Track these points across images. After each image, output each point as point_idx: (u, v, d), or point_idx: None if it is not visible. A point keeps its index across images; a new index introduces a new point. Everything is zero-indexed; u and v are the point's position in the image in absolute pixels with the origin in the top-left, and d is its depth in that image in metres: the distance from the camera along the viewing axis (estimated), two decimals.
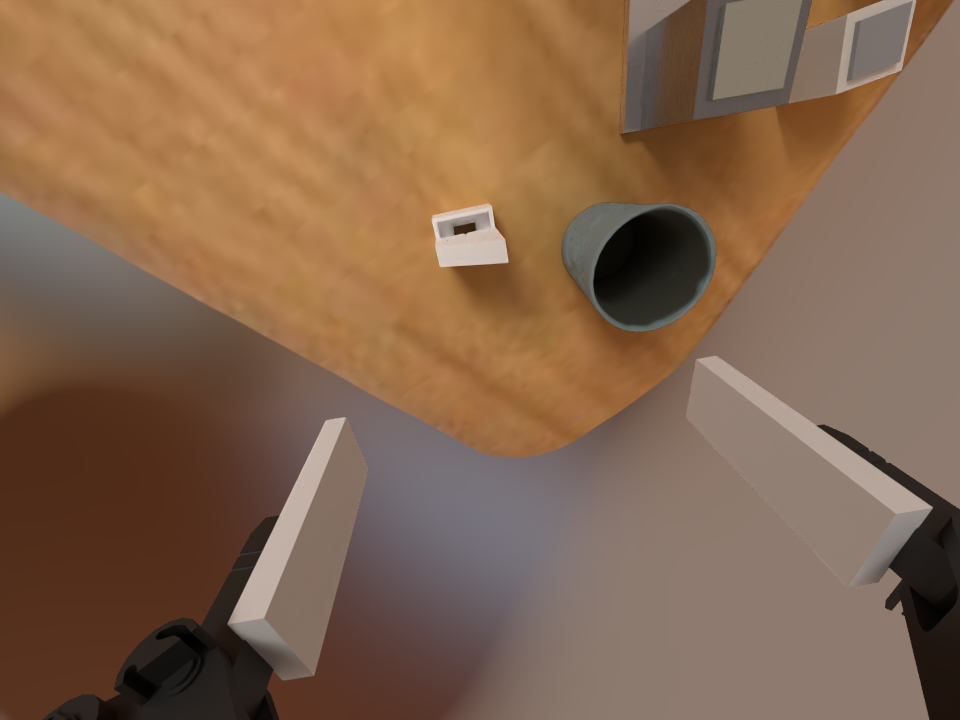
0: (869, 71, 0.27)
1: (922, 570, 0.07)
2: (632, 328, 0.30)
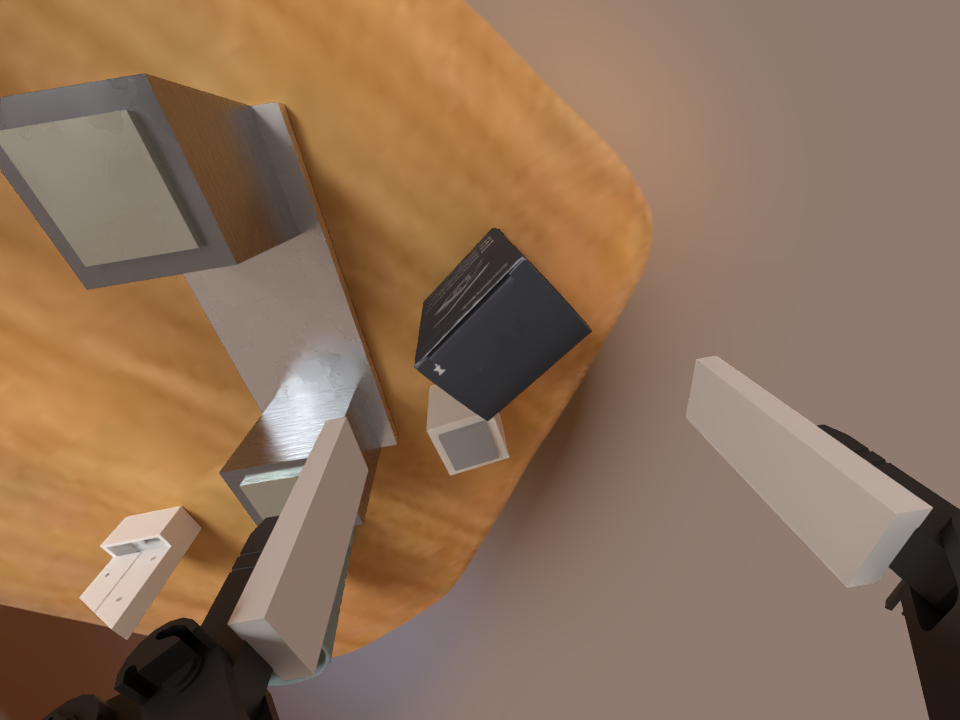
0: (471, 465, 0.27)
1: (922, 570, 0.07)
2: (272, 683, 0.30)
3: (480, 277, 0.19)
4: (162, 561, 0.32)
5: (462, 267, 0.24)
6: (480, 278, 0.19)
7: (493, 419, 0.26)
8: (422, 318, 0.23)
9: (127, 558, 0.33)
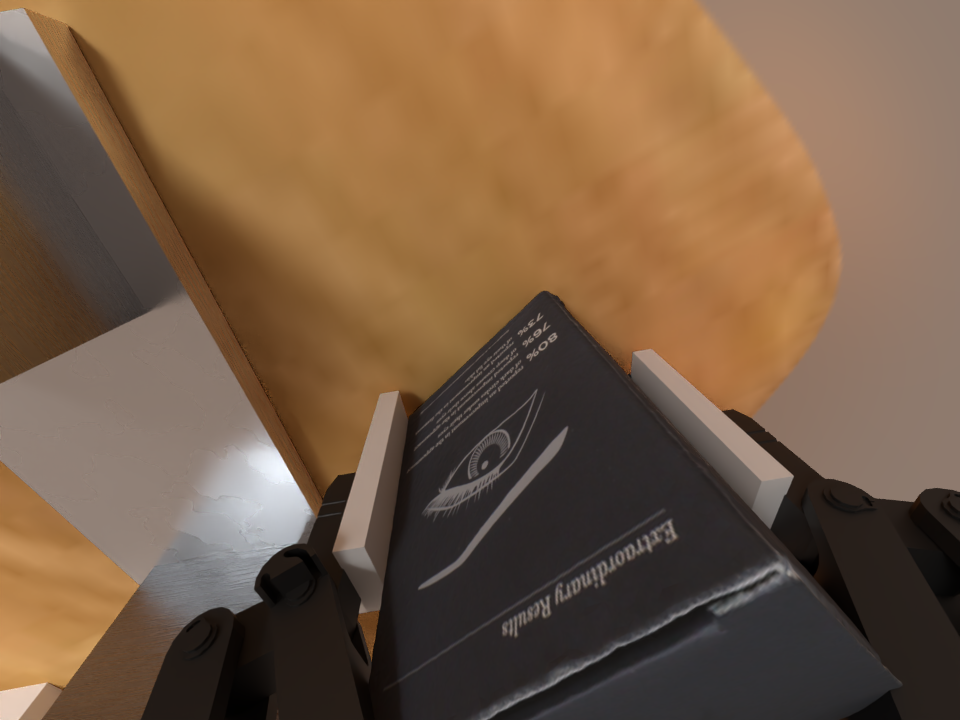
0: None
1: (792, 537, 0.08)
2: None
3: (549, 485, 0.07)
4: None
5: (483, 375, 0.12)
6: (550, 492, 0.07)
7: None
8: (401, 483, 0.11)
9: None
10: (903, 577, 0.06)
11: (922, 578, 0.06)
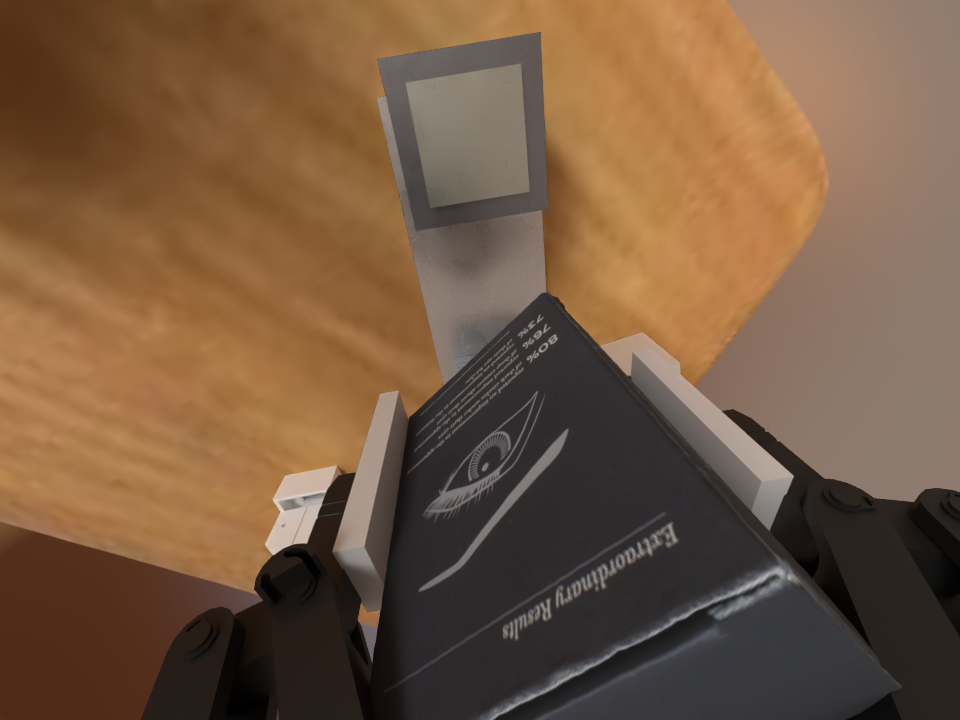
0: None
1: (792, 537, 0.08)
2: None
3: (549, 488, 0.07)
4: None
5: (484, 376, 0.12)
6: (550, 494, 0.07)
7: (679, 372, 0.28)
8: (401, 484, 0.11)
9: (296, 512, 0.35)
10: (903, 577, 0.06)
11: (922, 578, 0.06)
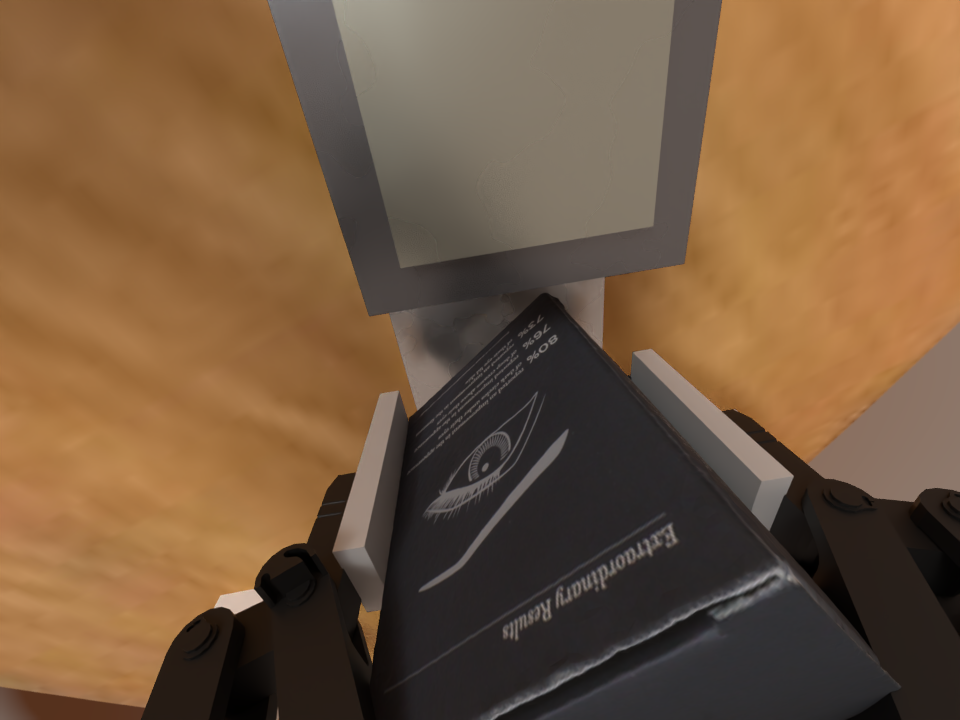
0: None
1: (792, 537, 0.08)
2: None
3: (549, 488, 0.07)
4: None
5: (484, 376, 0.12)
6: (550, 495, 0.07)
7: None
8: (401, 485, 0.11)
9: None
10: (903, 577, 0.06)
11: (922, 578, 0.06)
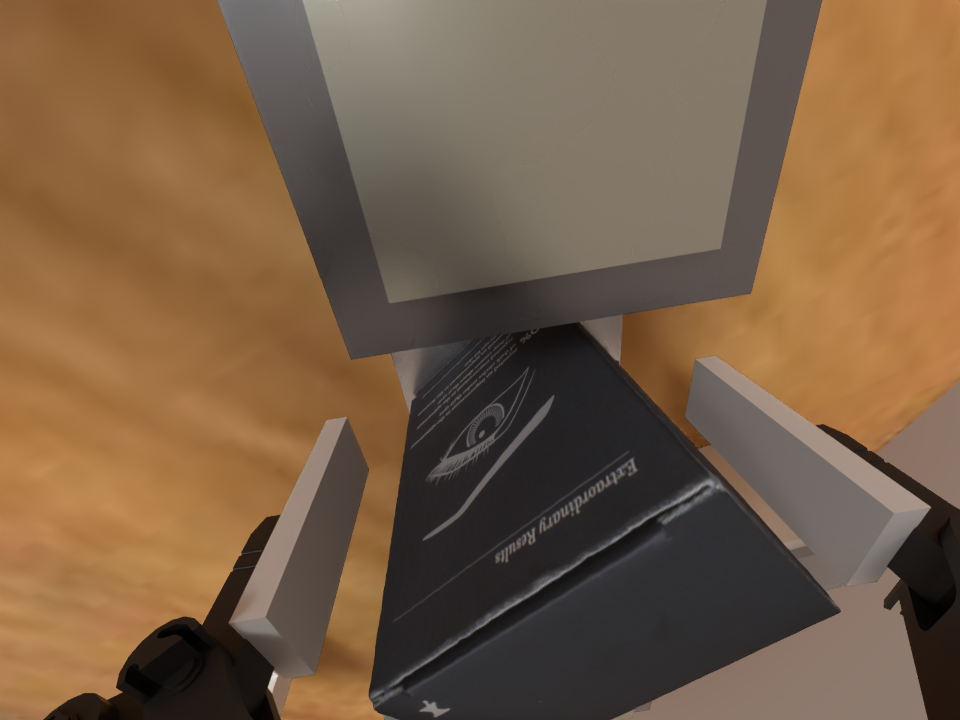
0: None
1: (920, 569, 0.07)
2: None
3: (536, 444, 0.08)
4: None
5: (481, 359, 0.13)
6: (537, 449, 0.08)
7: None
8: (405, 458, 0.12)
9: None
10: None
11: None
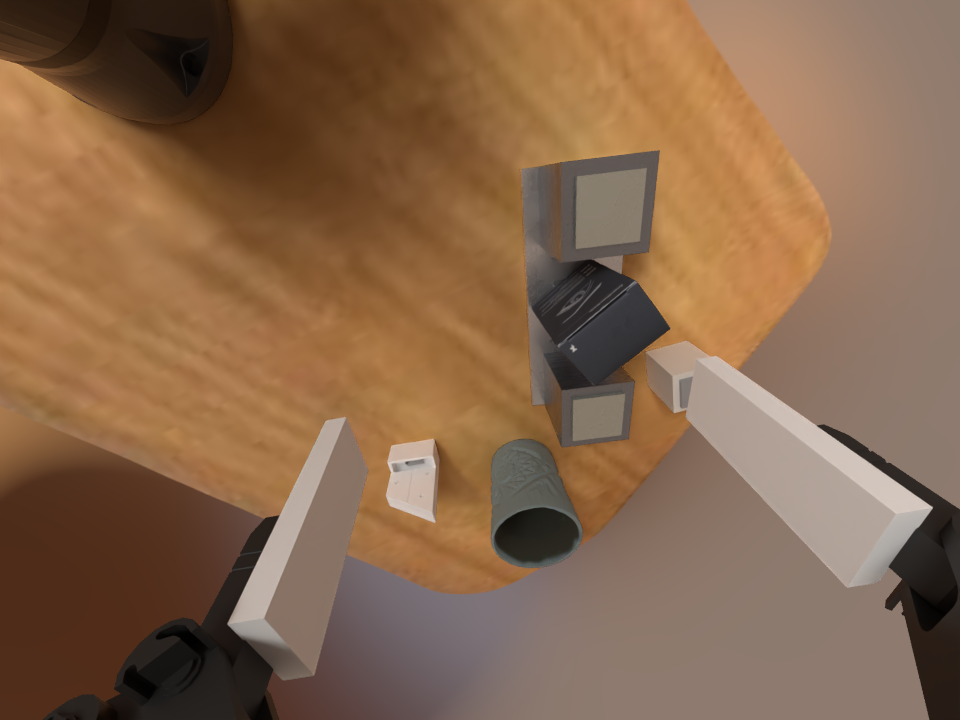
0: None
1: (922, 570, 0.07)
2: (527, 565, 0.41)
3: (597, 292, 0.29)
4: (435, 475, 0.43)
5: (568, 284, 0.35)
6: (598, 292, 0.29)
7: None
8: (541, 318, 0.34)
9: (404, 473, 0.44)
10: None
11: None
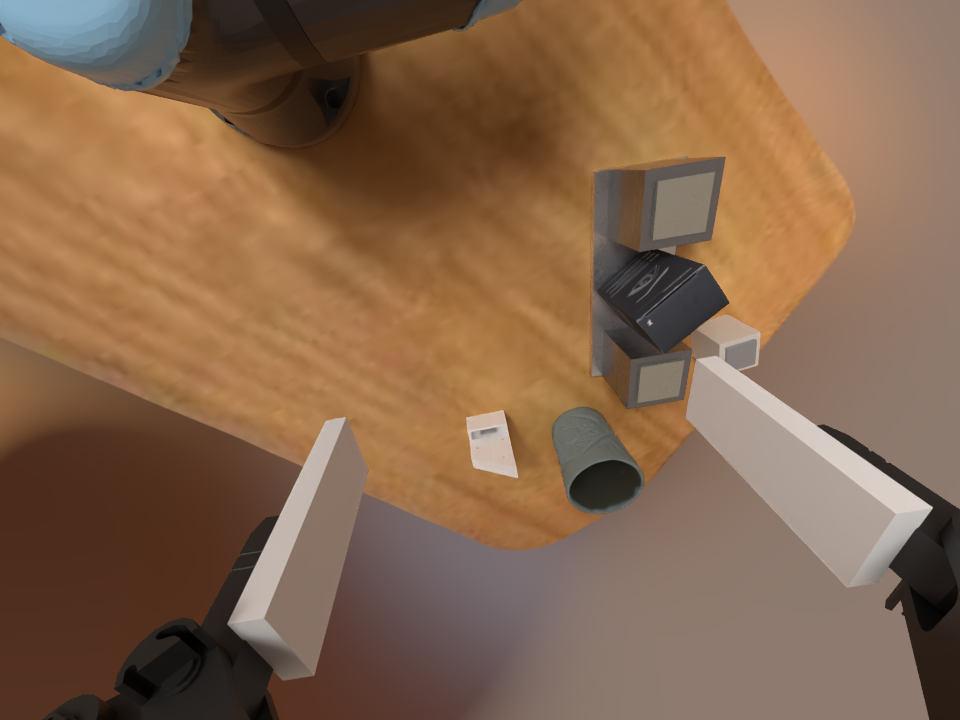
0: (736, 368, 0.45)
1: (922, 570, 0.07)
2: (595, 512, 0.48)
3: (666, 275, 0.35)
4: (509, 440, 0.50)
5: (632, 269, 0.41)
6: (667, 275, 0.35)
7: (759, 338, 0.43)
8: (610, 299, 0.40)
9: (482, 440, 0.51)
10: None
11: None
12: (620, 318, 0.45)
